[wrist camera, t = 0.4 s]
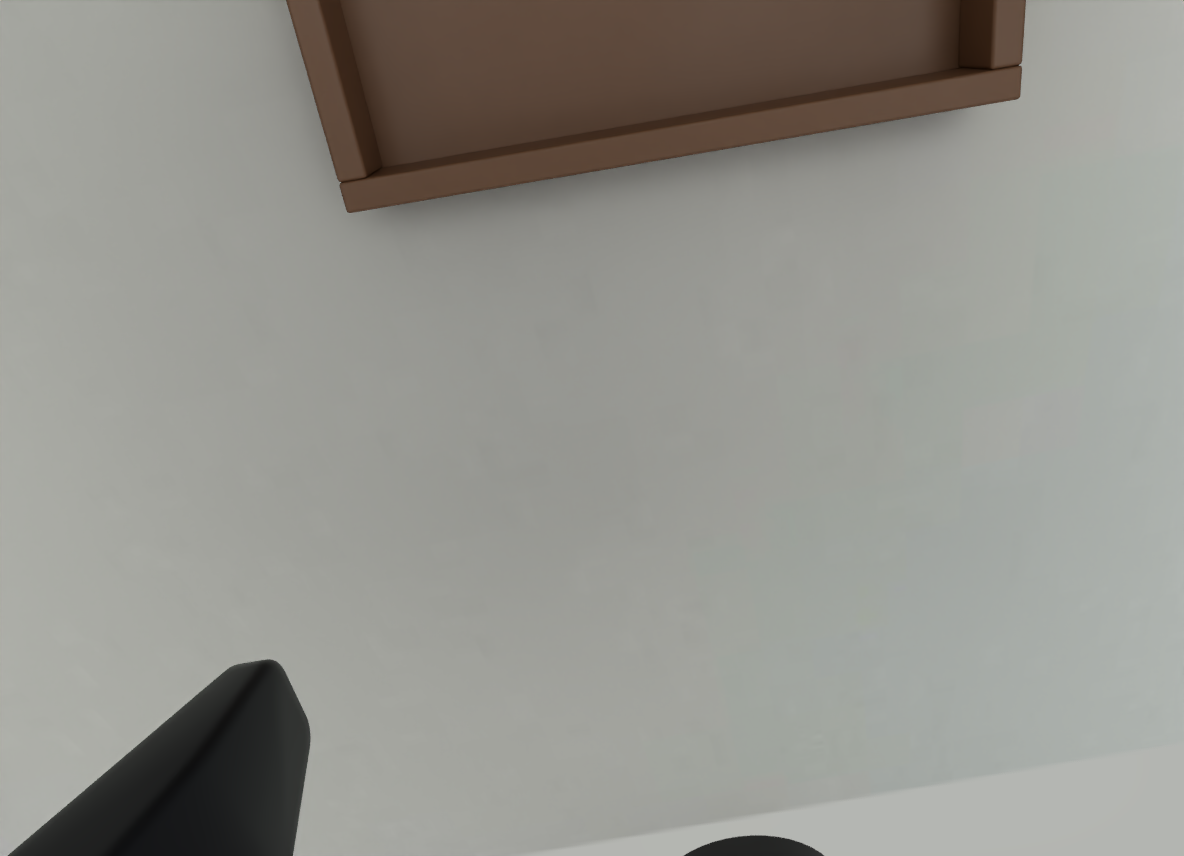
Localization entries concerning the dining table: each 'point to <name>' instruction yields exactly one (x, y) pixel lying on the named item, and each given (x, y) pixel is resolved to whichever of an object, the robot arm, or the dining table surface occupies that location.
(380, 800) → the dining table surface
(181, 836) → the robot arm
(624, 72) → the tray
